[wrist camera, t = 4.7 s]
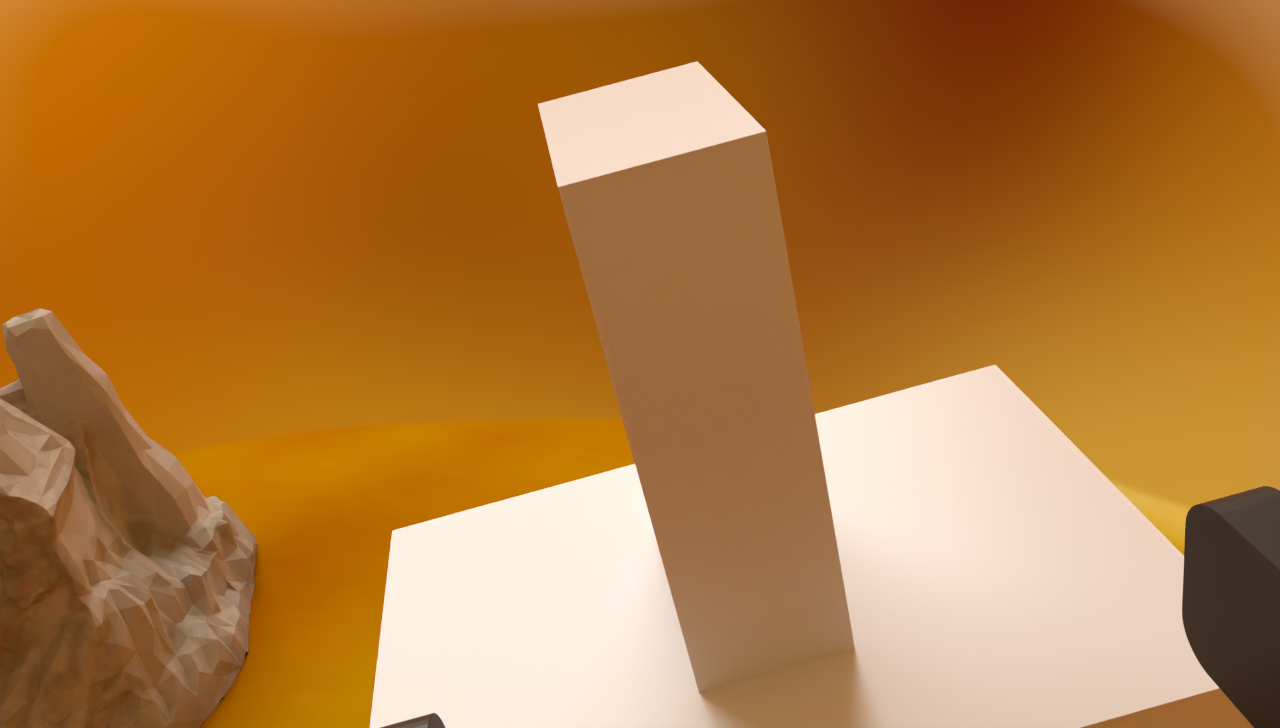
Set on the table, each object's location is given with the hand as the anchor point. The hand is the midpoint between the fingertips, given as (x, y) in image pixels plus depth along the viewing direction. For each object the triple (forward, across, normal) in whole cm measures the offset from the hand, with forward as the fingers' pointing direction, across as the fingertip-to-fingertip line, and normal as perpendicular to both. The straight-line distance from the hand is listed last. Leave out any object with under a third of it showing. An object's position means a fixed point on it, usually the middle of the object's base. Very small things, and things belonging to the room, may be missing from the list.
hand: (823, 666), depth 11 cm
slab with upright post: (+8, 0, +9) cm, 12 cm away
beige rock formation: (+23, +24, +15) cm, 36 cm away
